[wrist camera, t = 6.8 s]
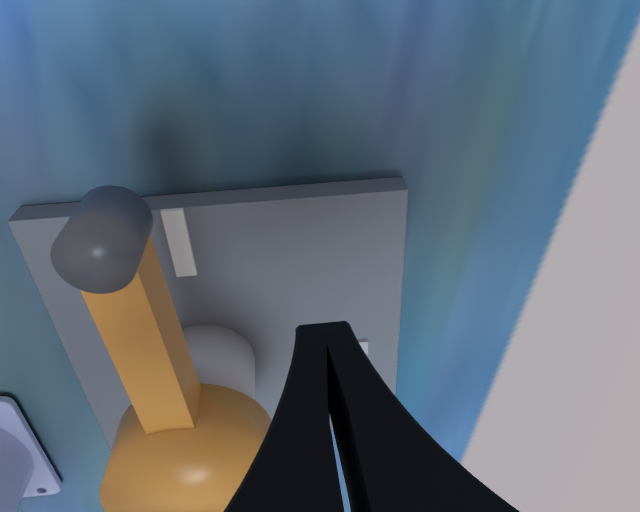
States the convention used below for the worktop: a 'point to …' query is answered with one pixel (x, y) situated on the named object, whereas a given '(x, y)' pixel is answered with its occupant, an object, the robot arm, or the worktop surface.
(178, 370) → the crank handle
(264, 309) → the plate
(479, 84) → the worktop surface
